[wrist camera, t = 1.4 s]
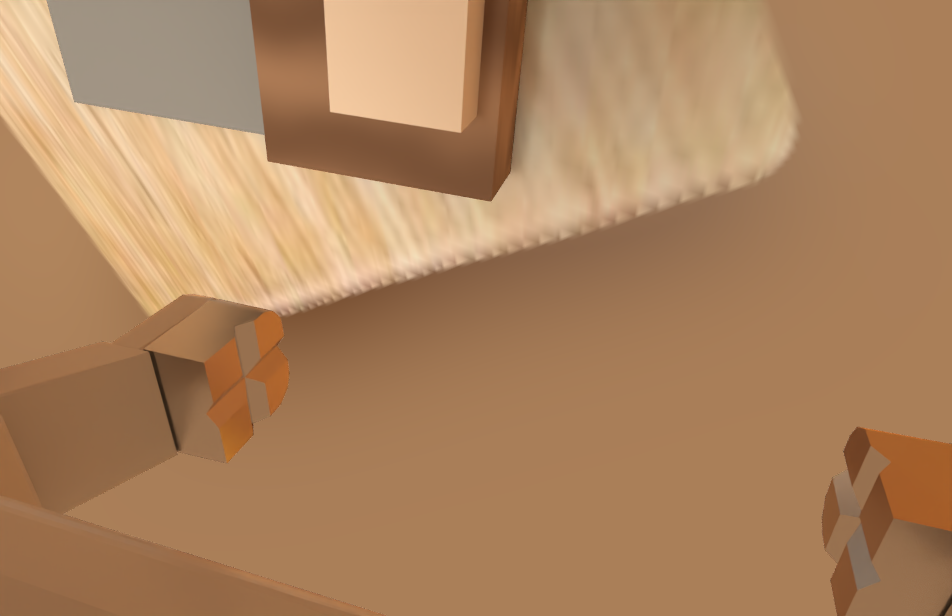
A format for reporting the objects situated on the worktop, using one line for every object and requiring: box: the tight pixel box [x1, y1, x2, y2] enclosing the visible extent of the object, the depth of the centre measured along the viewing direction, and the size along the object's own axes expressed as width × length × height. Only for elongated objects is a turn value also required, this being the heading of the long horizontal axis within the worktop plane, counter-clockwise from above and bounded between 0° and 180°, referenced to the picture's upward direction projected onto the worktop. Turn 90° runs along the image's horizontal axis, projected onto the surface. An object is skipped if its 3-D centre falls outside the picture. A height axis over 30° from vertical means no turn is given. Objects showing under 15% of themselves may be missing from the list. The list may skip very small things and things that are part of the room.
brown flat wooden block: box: [249, 0, 528, 201], centre depth 30 cm, size 16×12×4 cm
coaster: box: [324, 0, 485, 133], centre depth 27 cm, size 8×6×2 cm
